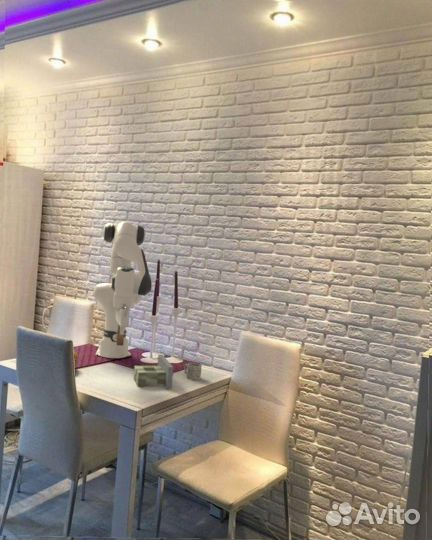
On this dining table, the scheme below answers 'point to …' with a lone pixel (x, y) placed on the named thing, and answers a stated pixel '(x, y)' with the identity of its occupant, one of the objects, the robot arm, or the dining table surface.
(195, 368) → the mug
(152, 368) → the socket block
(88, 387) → the dining table surface
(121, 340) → the dowel
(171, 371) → the wall
